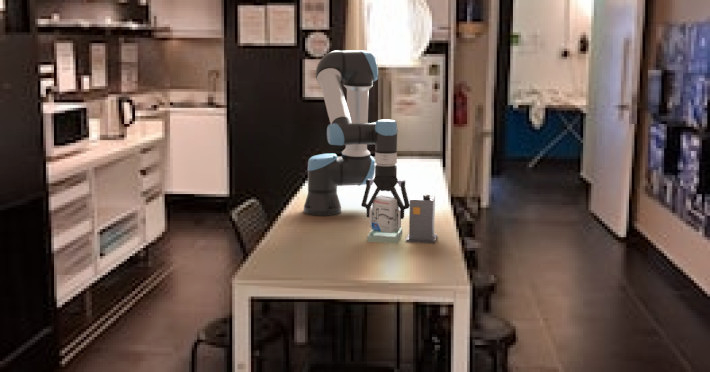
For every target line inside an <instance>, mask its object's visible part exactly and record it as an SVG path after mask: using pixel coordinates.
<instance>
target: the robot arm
mask: <svg viewBox="0 0 710 372" xmlns="http://www.w3.org/2000/svg"><path fill="white" fill-rule="evenodd" d="M377 61H378V60H377V59H376V55H375V54H374V53H373V51H369V50H333V51H330V52H328V53H327V54H325V55H323V57H321V59H320V60H319V62H318V63H317V66H316V68H315V80H316V82H317V84H318V86H319V87H321V88H320V89H321V92H322V96H323V100H324V103H325V107H326V112H327V116H328V119H329V123H330V124H328V125H327V128H326V139H327V143H328V144H329V145H331V146H345V148H344V149H343V150H342V151H341V156H338V155H337V154H336V153H322V154H320V153H319V154H317V155H313V156H311V157H310V158H309V159H308V161H307V169H306V170H307V196H306V198H305V202H304V206H303V213H304V214H306V215H309V216H323V217H324V216H334V215H338V214H341V213H342V206H341V202H340V199H339V195H338V193H337V192H338V187H344V186H345V187H346V186H363V185H364V186H365V185H366V186H365V190H364V194H363V197H362V201H361V207H362V208H365V209H366V218H369V222H368V224H369V226H368V228H372V207H371V206H373V201H374V199H375V198H376V197H377V196H378V195H379V193H380V191H382V192H385V191H386V192H390V193H391V194H392V196H393V198H395V199H396V200H397V204H398V206H399V210H398V229H400V228H402V220H403V219H404V218H405V211H406V210H408V209H410V200H409V197H408V194H407V193H408V192H407V189H406V181H407V180H405V179H402V180H401V179H398V177H397V173H398V172H397V170H398V169H397V167H398V166H397V165H396V164H397V163H398V161H397V159H398V150H397V149H398V132H399V131H398V122H397V121H396V120H394V119H378V120H377V121H373V122H371V123H370V122H368V120H369V91H370V89H371V88H372V87H373V86H374V85H373V84H374V83H373V82H376V81H377V80H378V76H379V67H378V63H377ZM341 82H343V83H341ZM342 85H343V86H342ZM343 87H345V89H346V98H345V94H344V90H343ZM368 145H375V152H374V157H375V158H374V157H373V156H372V155H371V151H370V150H368ZM374 184H375V186H376V188H375V190H374V193H373V194H372V195H371V197H370V199H369V201H368V197H369V194H370V190H371V187H372V185H374ZM397 184H398V186H399V187H400V191H401V195H402V199H403V202H402V199H401V197H400V195H399V194H398V192H397V188H396V185H397ZM367 201H368V203H367Z"/></svg>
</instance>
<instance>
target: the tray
mask: <svg viewBox="0 0 710 372" xmlns="http://www.w3.org/2000/svg"><path fill="white" fill-rule="evenodd" d="M402 235H403V227H401V228H400V229H398V231H395V232H392V233H387V232H382V231H377V230H372V229H371V230H370V231H369V233H368V234H367V235H366V236H367V237H366V241H367V242H369V243H387V244H388V243H392V244H398V242H399V240H400V238H401V237H402Z"/></svg>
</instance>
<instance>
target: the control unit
mask: <svg viewBox="0 0 710 372" xmlns="http://www.w3.org/2000/svg"><path fill="white" fill-rule="evenodd" d="M409 205H410V206H409V216H408V219H409V222H408V223H409V226H408V235H407V237H406V239H405V243H417V244H418V243H419V244H421V243H422V244H423V243H424V244H425V243H426V244H435V243H436V242H437V241H436V240H437V238H438V234H437V233H435V210H436V195H430V194H422V195H421V194H420V195H419V194H417V195H416V194H412V195H411V197H410V199H409Z"/></svg>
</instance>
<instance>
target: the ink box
mask: <svg viewBox="0 0 710 372" xmlns="http://www.w3.org/2000/svg"><path fill="white" fill-rule="evenodd" d="M371 206H372V207H371V208H372V227H371V230H377V231H382V232H387V233H392V232H395V231H398V210H399V209H400V208H399V206H398V204H397V200H396V199H395V198H394V196H393V197H392V196H387V195H377V196H376V198H375V199H374V201H373V203H372V205H371Z"/></svg>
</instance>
